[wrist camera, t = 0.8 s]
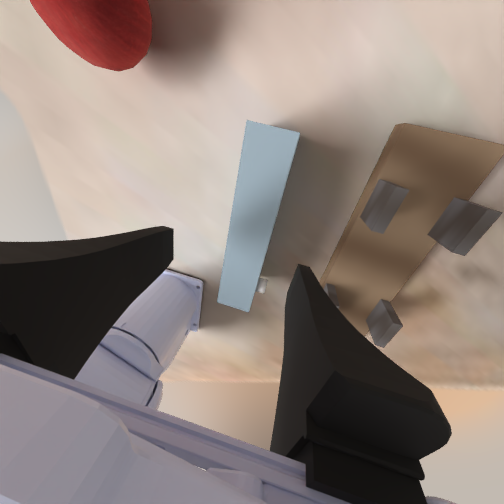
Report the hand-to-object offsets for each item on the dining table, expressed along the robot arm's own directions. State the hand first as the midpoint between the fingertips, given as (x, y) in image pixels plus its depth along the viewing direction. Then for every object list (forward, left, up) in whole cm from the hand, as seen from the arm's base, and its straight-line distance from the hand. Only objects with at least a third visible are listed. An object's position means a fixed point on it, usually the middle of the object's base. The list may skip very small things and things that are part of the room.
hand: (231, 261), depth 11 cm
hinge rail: (-1, -11, -9) cm, 15 cm away
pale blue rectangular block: (0, 0, -10) cm, 10 cm away
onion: (+11, +12, -10) cm, 19 cm away
